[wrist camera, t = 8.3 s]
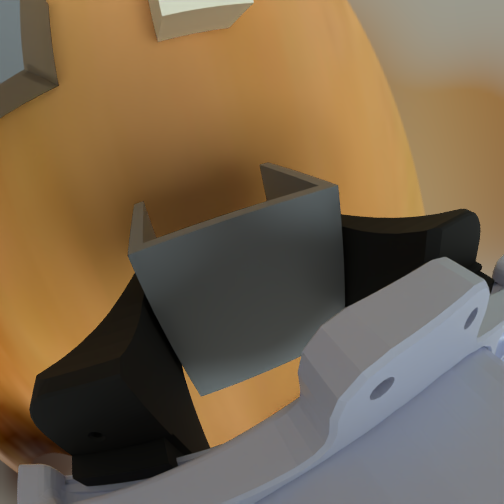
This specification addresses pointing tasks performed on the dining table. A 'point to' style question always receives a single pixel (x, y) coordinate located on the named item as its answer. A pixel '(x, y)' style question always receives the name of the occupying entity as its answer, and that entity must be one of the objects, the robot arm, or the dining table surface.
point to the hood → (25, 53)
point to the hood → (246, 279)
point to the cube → (194, 16)
